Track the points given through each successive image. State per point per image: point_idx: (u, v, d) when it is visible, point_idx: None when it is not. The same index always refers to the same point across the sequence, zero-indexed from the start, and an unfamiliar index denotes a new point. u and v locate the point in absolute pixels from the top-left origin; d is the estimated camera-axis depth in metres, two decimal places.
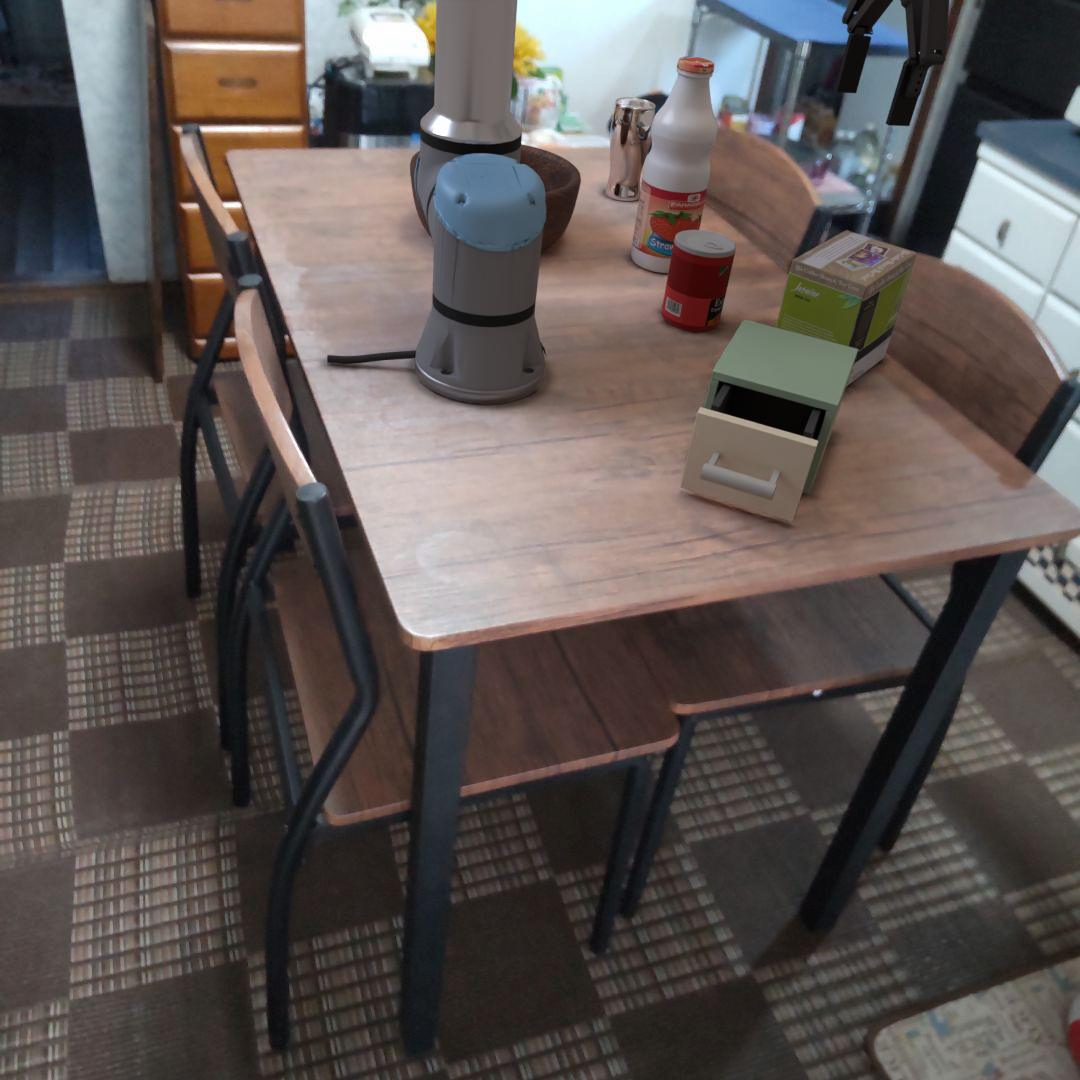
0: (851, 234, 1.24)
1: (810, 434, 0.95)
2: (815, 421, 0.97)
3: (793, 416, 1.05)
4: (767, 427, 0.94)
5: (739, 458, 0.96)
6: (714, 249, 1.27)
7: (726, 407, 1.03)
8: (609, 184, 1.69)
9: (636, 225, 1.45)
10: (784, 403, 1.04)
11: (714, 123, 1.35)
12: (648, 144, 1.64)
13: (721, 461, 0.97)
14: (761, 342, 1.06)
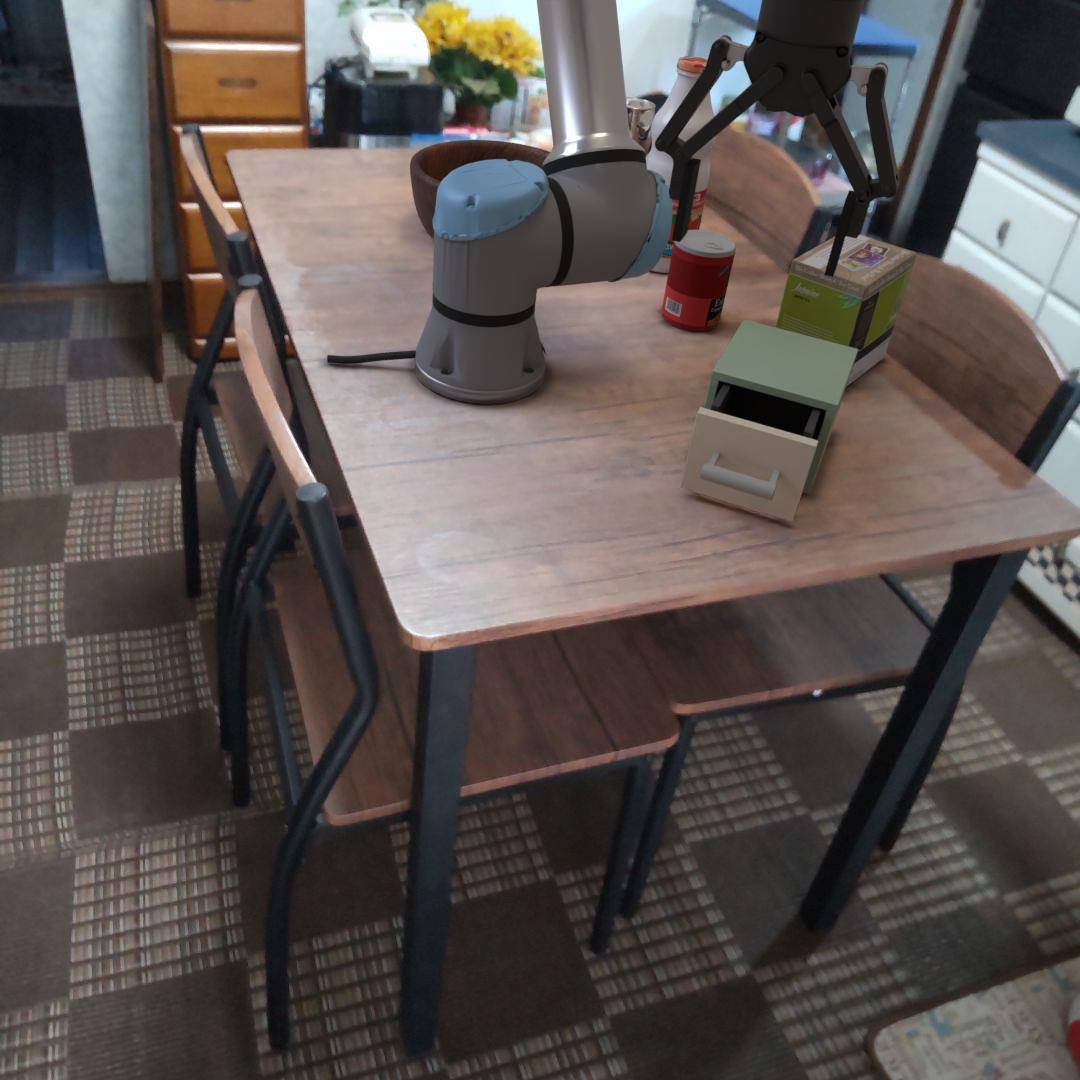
0: None
1: (810, 434, 0.95)
2: (815, 421, 0.97)
3: (793, 416, 1.05)
4: (767, 427, 0.94)
5: (739, 458, 0.96)
6: (714, 249, 1.27)
7: (726, 407, 1.03)
8: None
9: None
10: (784, 403, 1.04)
11: None
12: (648, 144, 1.64)
13: (721, 461, 0.97)
14: (761, 342, 1.06)
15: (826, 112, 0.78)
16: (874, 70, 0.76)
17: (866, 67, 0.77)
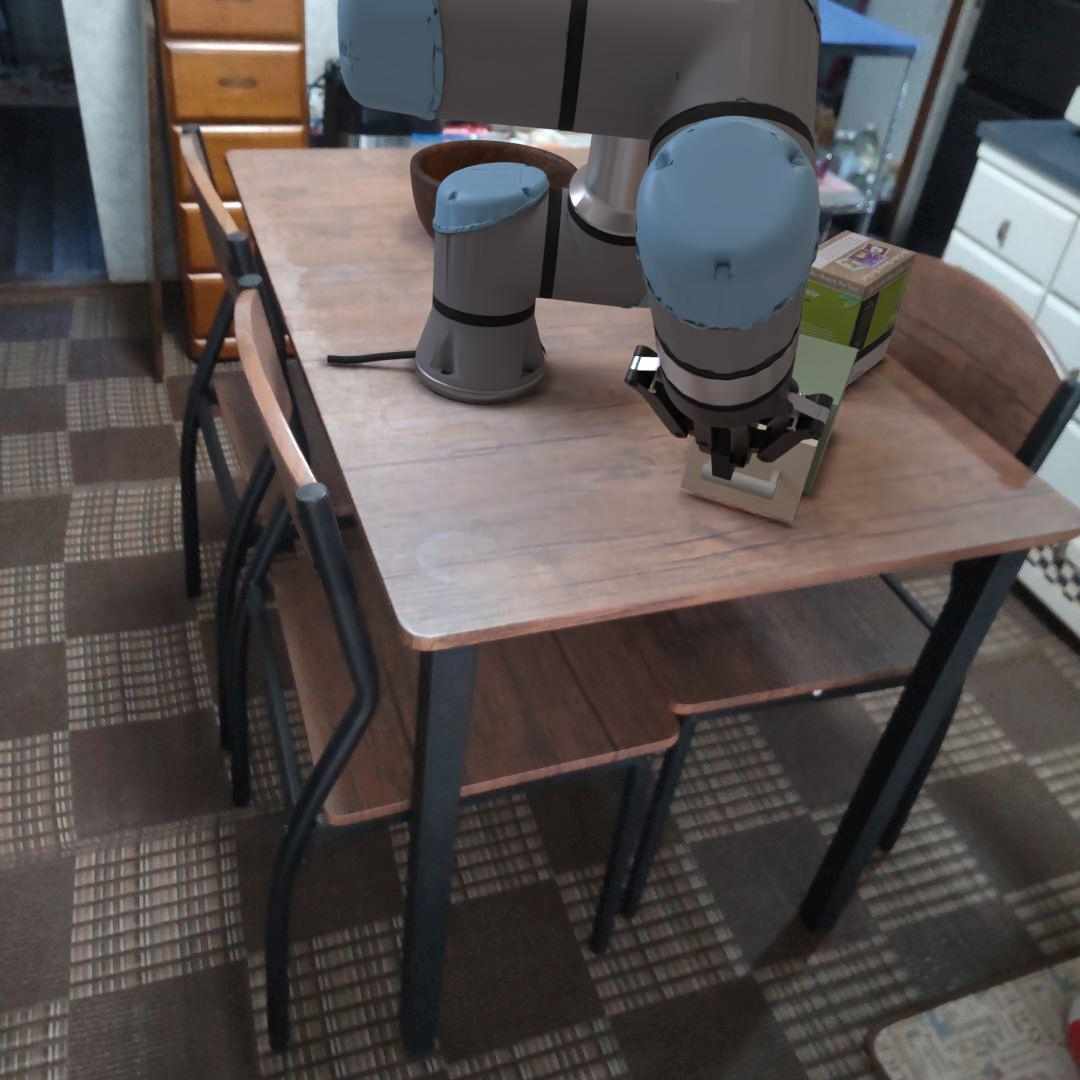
0: (851, 234, 1.24)
1: None
2: None
3: None
4: None
5: None
6: None
7: None
8: None
9: None
10: None
11: None
12: None
13: None
14: None
15: (740, 430, 0.63)
16: (812, 431, 0.60)
17: (808, 412, 0.59)
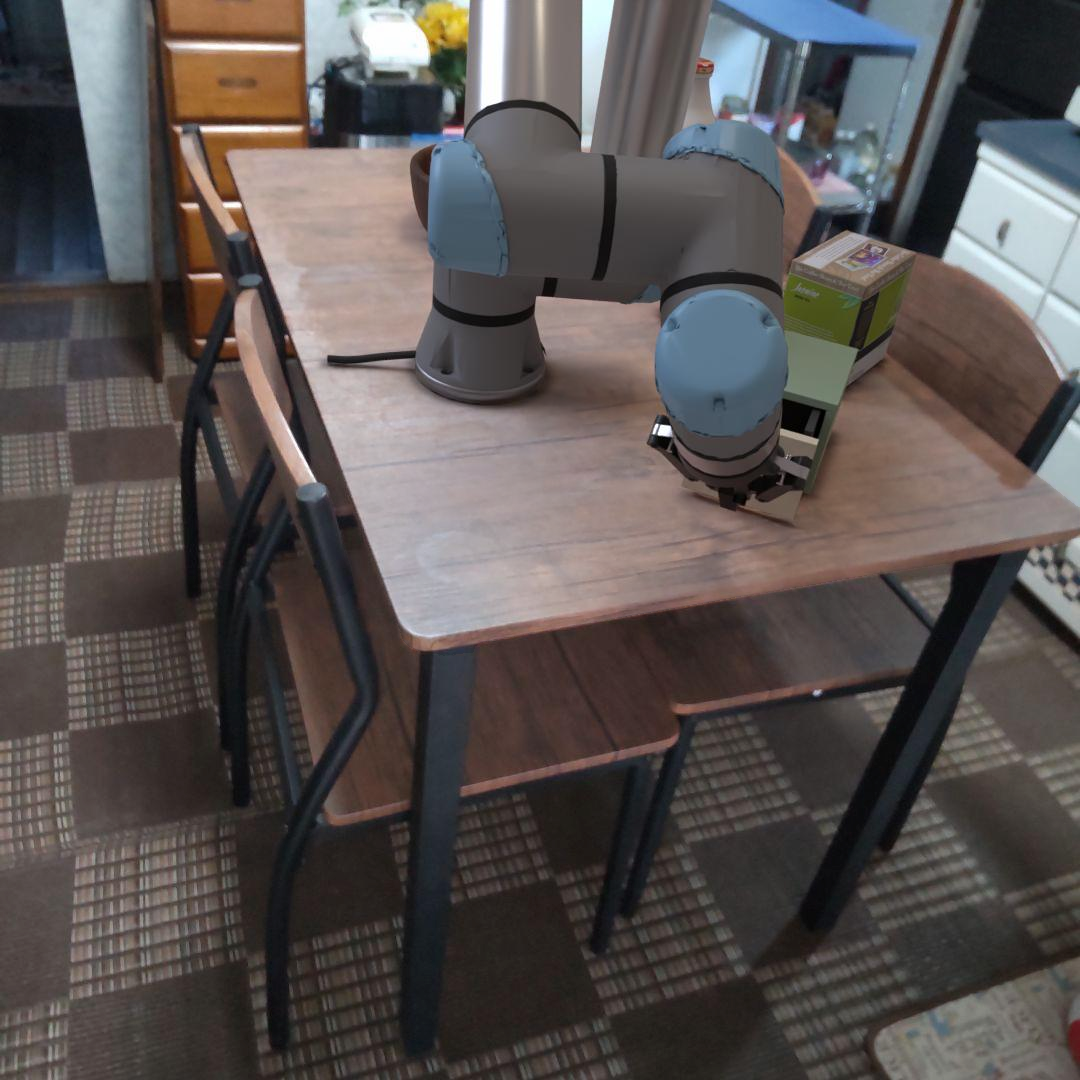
0: (851, 234, 1.24)
1: (811, 433, 0.95)
2: (816, 420, 0.97)
3: (794, 415, 1.05)
4: None
5: None
6: None
7: None
8: None
9: None
10: (785, 402, 1.05)
11: None
12: None
13: None
14: None
15: None
16: (796, 486, 0.75)
17: (792, 471, 0.75)
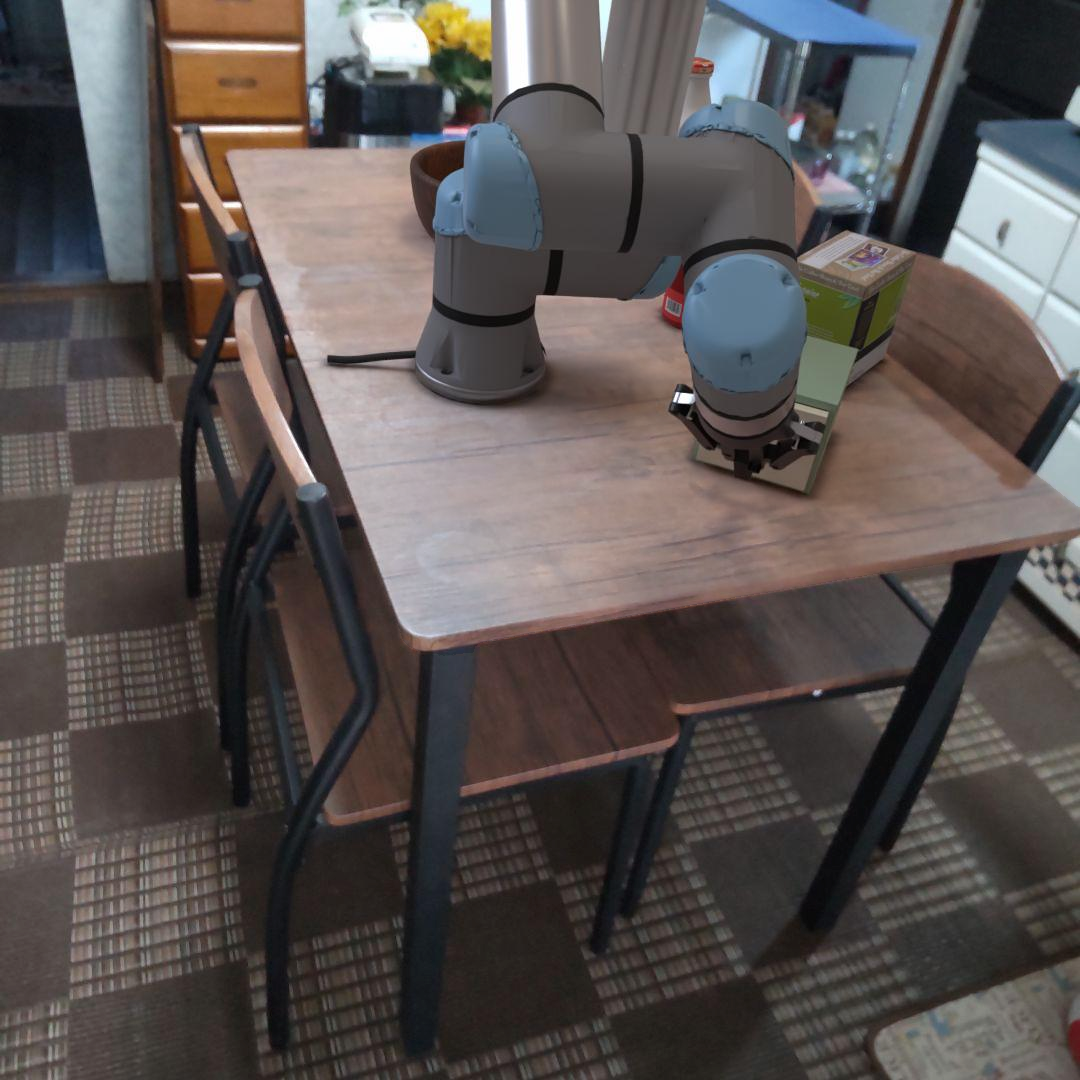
0: (851, 234, 1.24)
1: None
2: None
3: None
4: None
5: None
6: None
7: None
8: None
9: None
10: None
11: None
12: None
13: None
14: None
15: (756, 448, 0.83)
16: (809, 450, 0.80)
17: (806, 436, 0.80)
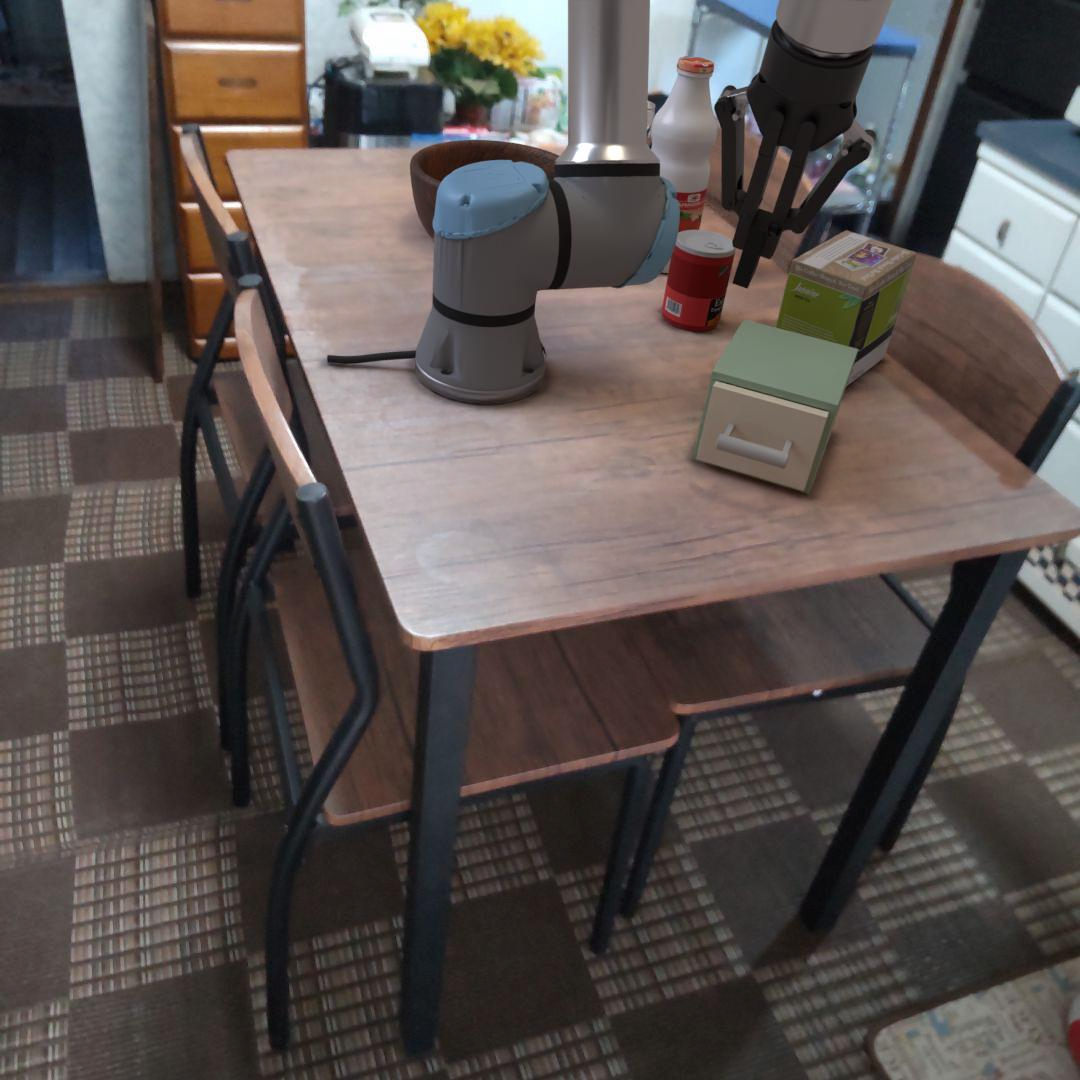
0: (851, 234, 1.24)
1: None
2: None
3: None
4: (780, 399, 0.99)
5: (753, 429, 1.01)
6: (714, 249, 1.27)
7: None
8: None
9: None
10: None
11: (714, 123, 1.35)
12: (648, 144, 1.64)
13: (735, 433, 1.02)
14: (761, 342, 1.06)
15: (800, 159, 0.78)
16: (863, 148, 0.76)
17: (861, 134, 0.76)
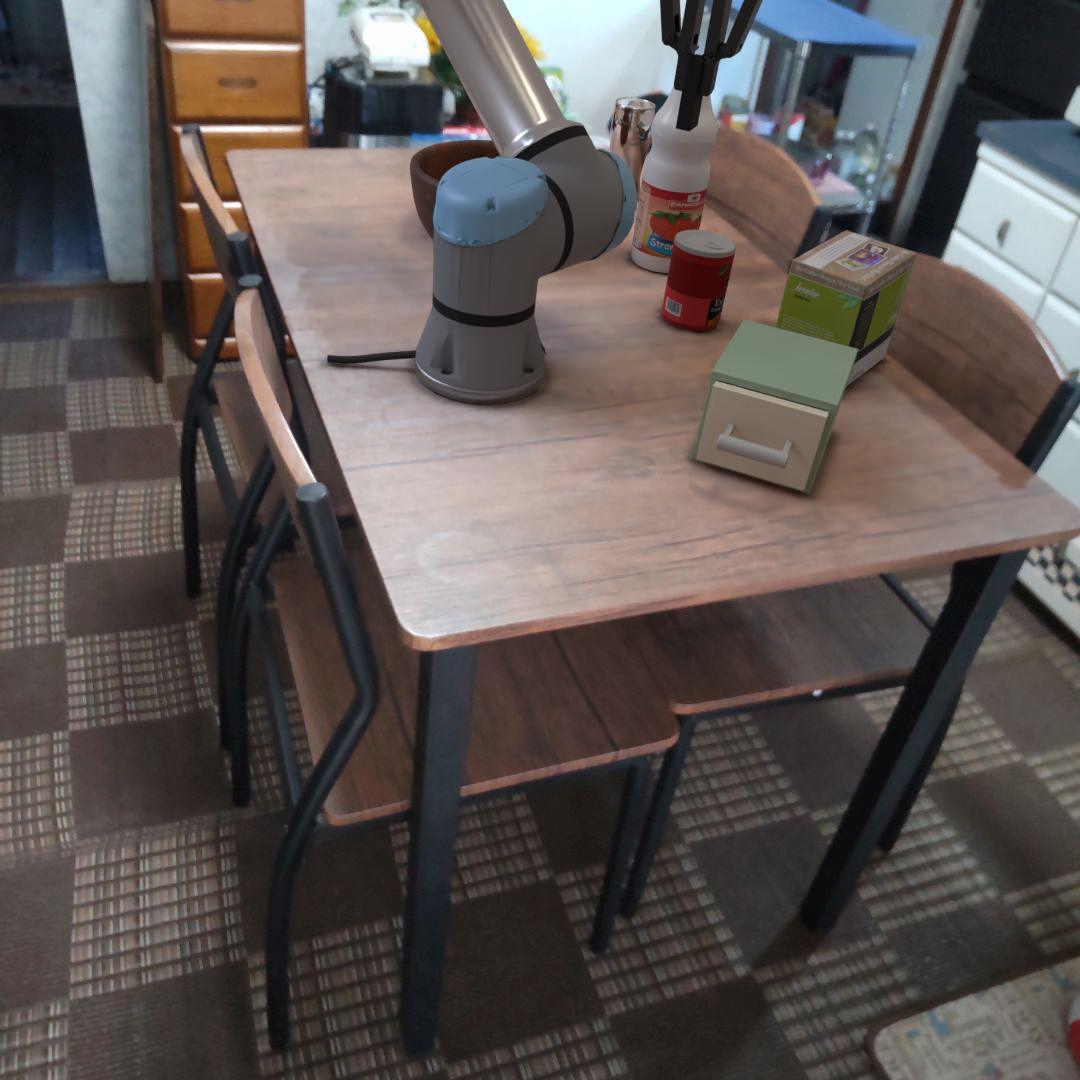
0: (851, 234, 1.24)
1: None
2: None
3: None
4: (780, 399, 0.99)
5: (753, 429, 1.01)
6: (714, 249, 1.27)
7: None
8: None
9: (636, 225, 1.45)
10: None
11: (714, 123, 1.35)
12: (648, 144, 1.64)
13: (735, 433, 1.02)
14: (761, 342, 1.06)
15: None
16: None
17: None
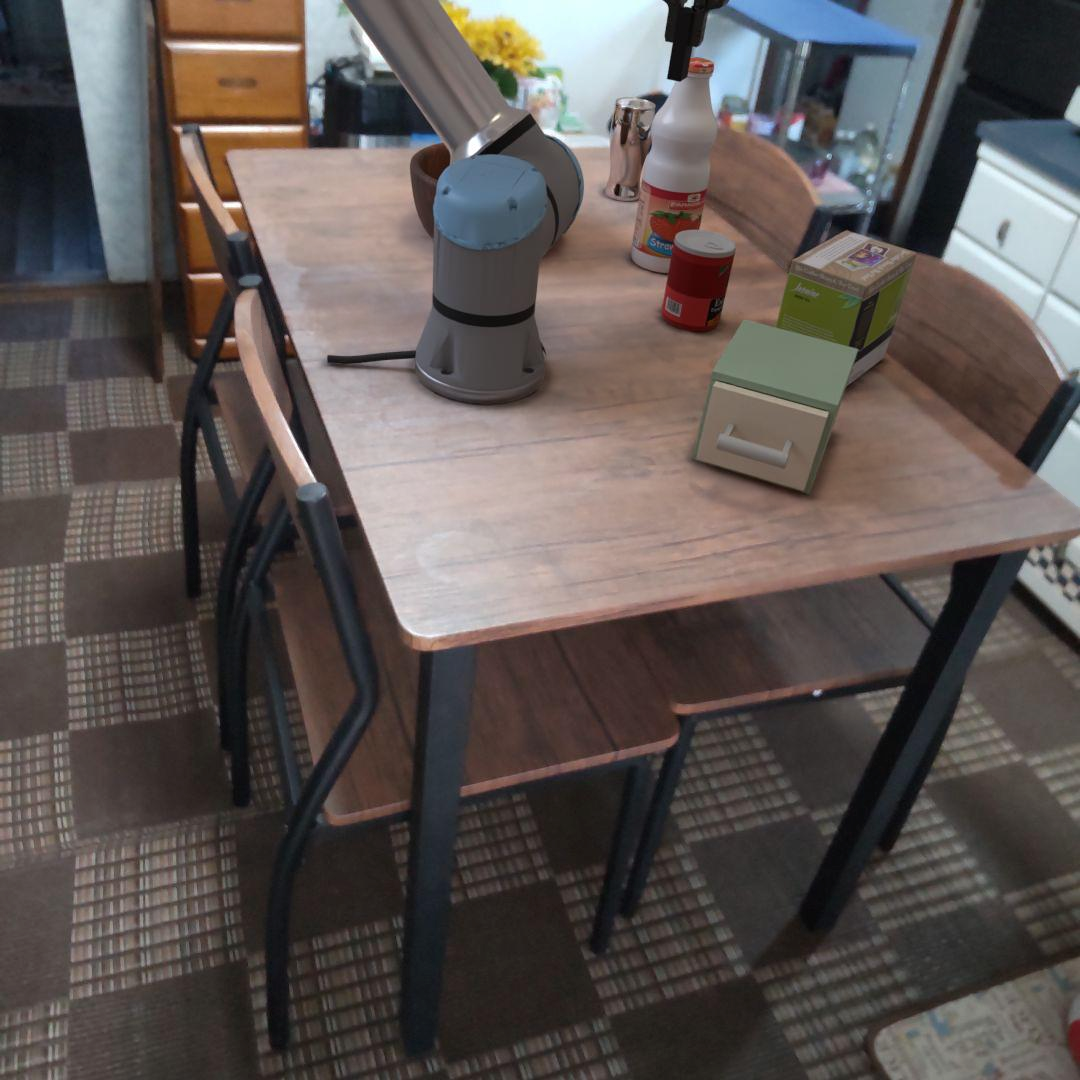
0: (851, 234, 1.24)
1: None
2: None
3: None
4: (780, 399, 0.99)
5: (753, 429, 1.01)
6: (714, 249, 1.27)
7: None
8: (609, 184, 1.69)
9: (636, 225, 1.45)
10: None
11: (714, 123, 1.35)
12: (648, 144, 1.64)
13: (735, 433, 1.02)
14: (761, 342, 1.06)
15: None
16: None
17: None
